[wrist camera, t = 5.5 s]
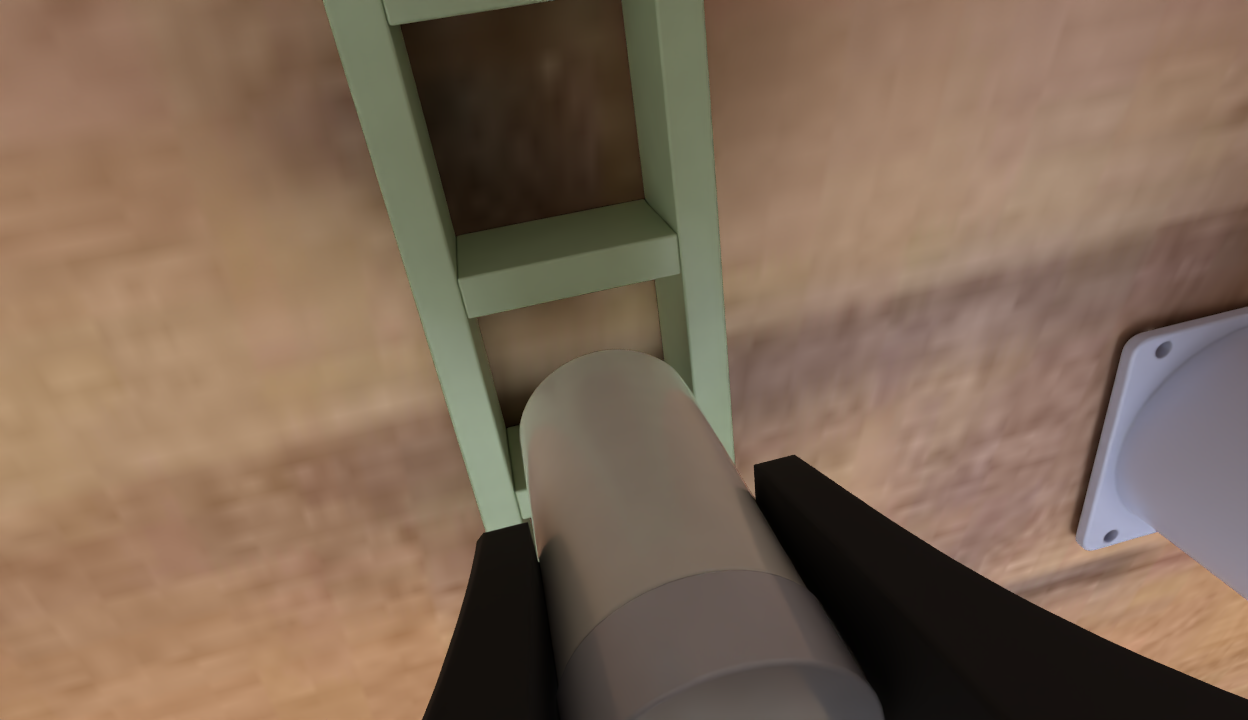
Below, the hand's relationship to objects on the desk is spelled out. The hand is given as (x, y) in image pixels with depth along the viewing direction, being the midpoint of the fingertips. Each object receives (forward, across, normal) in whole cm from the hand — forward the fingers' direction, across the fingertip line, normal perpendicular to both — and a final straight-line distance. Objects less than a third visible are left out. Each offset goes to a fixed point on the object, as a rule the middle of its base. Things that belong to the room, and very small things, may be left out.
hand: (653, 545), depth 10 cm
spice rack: (+7, 0, 0) cm, 7 cm away
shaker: (+3, 0, 0) cm, 3 cm away
